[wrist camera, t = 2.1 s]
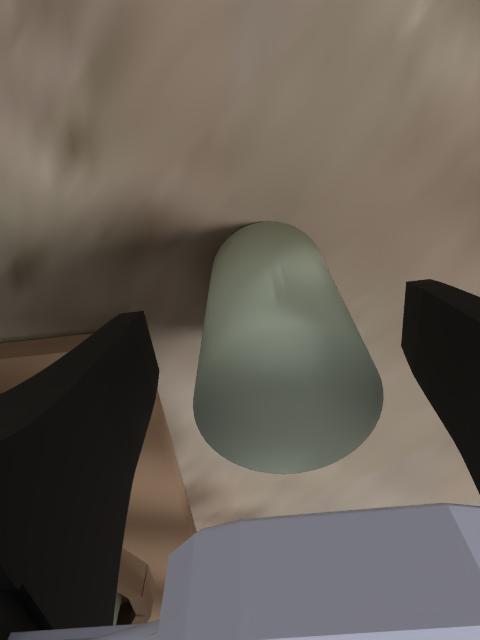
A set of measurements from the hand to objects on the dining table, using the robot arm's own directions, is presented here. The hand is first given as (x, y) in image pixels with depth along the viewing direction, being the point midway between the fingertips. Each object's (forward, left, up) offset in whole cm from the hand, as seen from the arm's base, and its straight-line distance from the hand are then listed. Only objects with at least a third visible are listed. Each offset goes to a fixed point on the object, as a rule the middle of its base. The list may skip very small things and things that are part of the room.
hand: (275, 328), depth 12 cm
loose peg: (0, 0, -4) cm, 4 cm away
